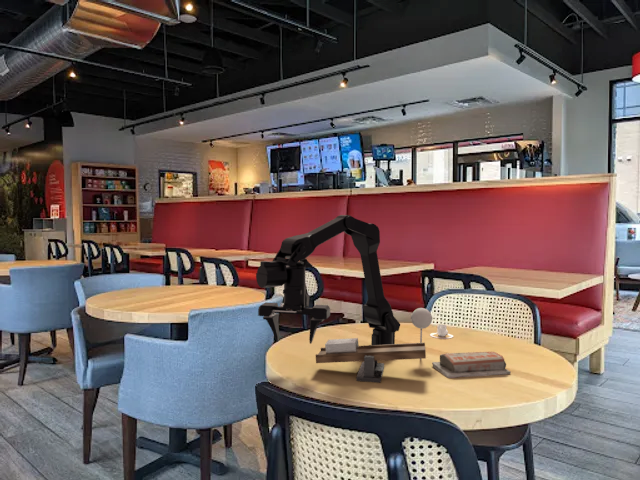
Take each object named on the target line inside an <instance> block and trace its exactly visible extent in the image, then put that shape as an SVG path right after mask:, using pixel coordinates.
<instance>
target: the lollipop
mask: <svg viewBox="0 0 640 480" xmlns="http://www.w3.org/2000/svg"><path fill="white" fill-rule="evenodd" d="M410 320H411V323H412V325H413V326H414V327H416V328H417V329H420V331H419V332H420V333H419V334H420V335H419V337H420V338H419V340H420V341H419V343H423V329H426V328H428V327H430V325H431V324H432V321H433V315H432V313H431V312H430V310H428V309H427V308H423V307H418V308H416V309H415V310H414V311H412V313H411V315H410ZM419 360H420V361H422V359H419Z"/></svg>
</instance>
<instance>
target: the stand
mask: <svg viewBox="0 0 640 480" xmlns="http://www.w3.org/2000/svg"><path fill="white" fill-rule="evenodd" d="M384 369H385V363H383V362H382V363H381V362H379V361H374V356H368V355H365V356H364V361H361V365H360V367H359V370H358V372H357V375H356V382H367V383H381V381H382V378H383V374H384Z"/></svg>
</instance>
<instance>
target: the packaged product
mask: <svg viewBox="0 0 640 480" xmlns="http://www.w3.org/2000/svg"><path fill="white" fill-rule="evenodd" d="M431 364H432V368H434V369H435V370H437V371H438V372H439V373H441V375H443V376H444V377H446V378H447V379H450V378H451V379H452V378H461V377H462V378H463V377H464V378H467V377H468V378H470V377H486V376H487V377H488V376H499V375H511V371H510V370H508V369H507V362H506V361H505V358H504V357H503V355H501V354H499V353H497V352H495V351H473V352H472V351H471V352H451V353H448V352H446V353H441V354H439V361H432V362H431Z"/></svg>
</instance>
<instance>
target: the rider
mask: <svg viewBox="0 0 640 480" xmlns="http://www.w3.org/2000/svg"><path fill="white" fill-rule="evenodd" d="M324 345H325V347H324V348H326V354H335V353H356V352H358V350H359V346H360V345H359V338H358V337H355V338H354V337H353V338H352V337H351V338H338V339H337V338H334V339H328V340H327V341H326V343H325V344H324Z"/></svg>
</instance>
